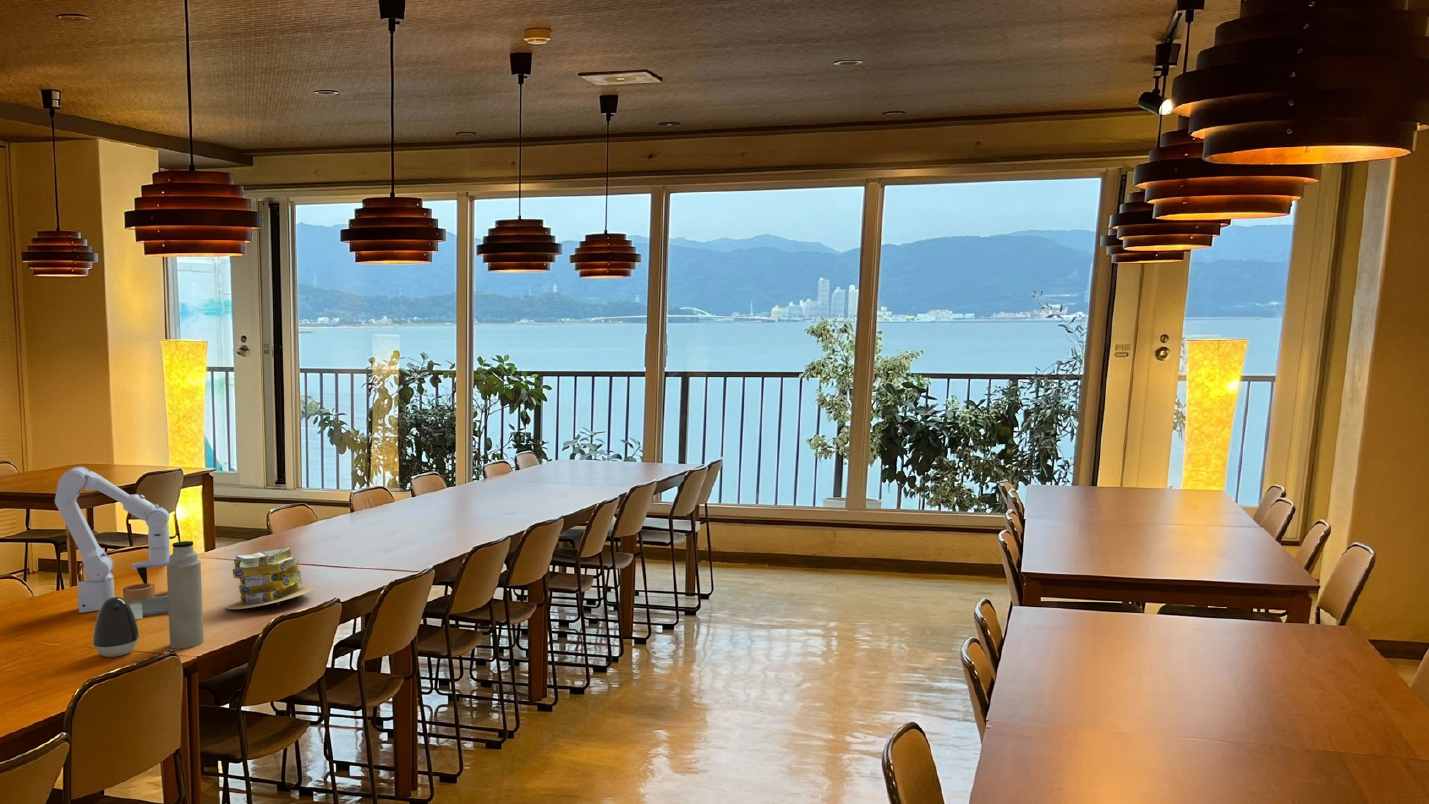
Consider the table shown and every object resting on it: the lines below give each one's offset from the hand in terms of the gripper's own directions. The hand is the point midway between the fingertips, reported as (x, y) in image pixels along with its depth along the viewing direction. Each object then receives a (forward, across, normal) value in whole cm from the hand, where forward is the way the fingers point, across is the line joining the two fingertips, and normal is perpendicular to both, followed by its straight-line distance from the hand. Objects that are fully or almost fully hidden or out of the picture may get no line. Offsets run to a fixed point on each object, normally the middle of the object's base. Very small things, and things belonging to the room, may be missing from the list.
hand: (161, 589), depth 292 cm
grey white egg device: (+4, +12, +52) cm, 53 cm away
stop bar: (+4, 0, +17) cm, 17 cm away
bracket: (+4, +2, +3) cm, 6 cm away
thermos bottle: (+4, -4, +52) cm, 53 cm away
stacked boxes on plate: (+4, -28, +22) cm, 36 cm away
